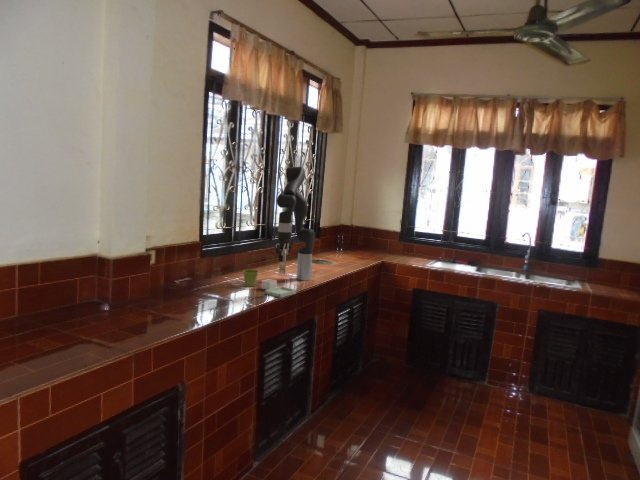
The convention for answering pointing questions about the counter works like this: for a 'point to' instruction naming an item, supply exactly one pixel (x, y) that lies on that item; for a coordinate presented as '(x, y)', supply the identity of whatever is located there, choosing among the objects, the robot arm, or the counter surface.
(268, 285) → the white open box
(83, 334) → the counter surface
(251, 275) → the plant pot
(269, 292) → the tray
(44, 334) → the counter surface
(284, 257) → the dowel
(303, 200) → the robot arm
